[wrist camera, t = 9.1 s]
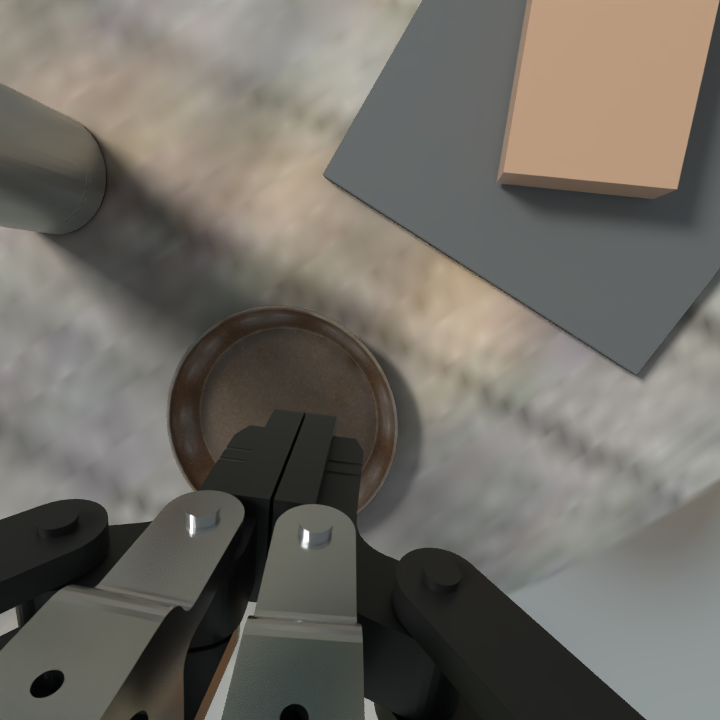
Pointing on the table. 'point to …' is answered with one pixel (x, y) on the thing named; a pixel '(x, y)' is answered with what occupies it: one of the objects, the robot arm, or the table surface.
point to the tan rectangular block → (605, 94)
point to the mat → (529, 204)
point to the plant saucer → (279, 389)
